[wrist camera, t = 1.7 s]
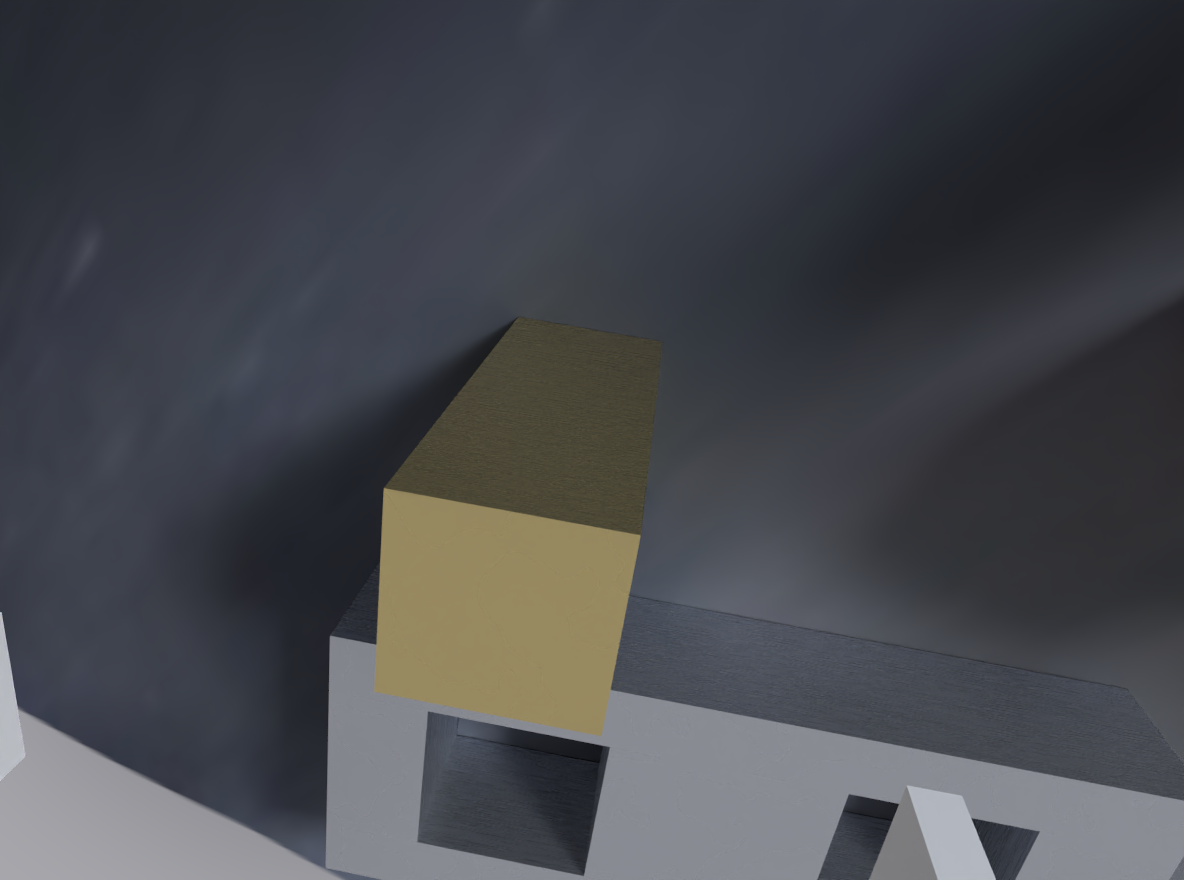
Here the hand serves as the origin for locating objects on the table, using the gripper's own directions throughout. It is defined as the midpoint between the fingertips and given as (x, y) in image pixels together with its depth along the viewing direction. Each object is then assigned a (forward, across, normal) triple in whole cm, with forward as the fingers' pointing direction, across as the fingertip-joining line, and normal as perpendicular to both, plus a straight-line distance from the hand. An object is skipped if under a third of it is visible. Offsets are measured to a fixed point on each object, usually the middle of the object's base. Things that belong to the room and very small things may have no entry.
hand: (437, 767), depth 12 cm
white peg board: (+15, +7, -12) cm, 21 cm away
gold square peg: (+15, 0, 0) cm, 15 cm away
